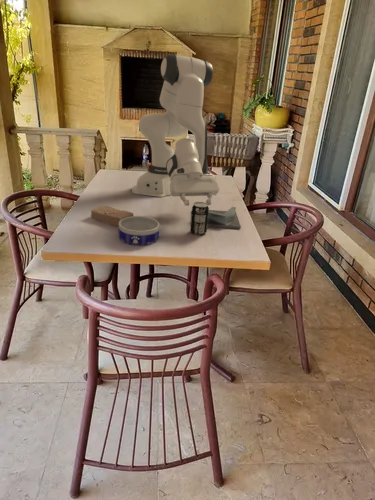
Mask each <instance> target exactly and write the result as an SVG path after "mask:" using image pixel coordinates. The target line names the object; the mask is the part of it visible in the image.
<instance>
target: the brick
mask: <svg viewBox="0 0 375 500" xmlns="http://www.w3.org/2000/svg"><path fill="white" fill-rule="evenodd" d="M90 212H91V214H90V217H91V218H90V219H91V220H93V221H97V222H101V223H104V224H107V225H110V226H113V227H117V228H119V221H120V220H122V219H124V218H126V217H132V216H134V213H133V212H131V211H127V210H122V209H121V210H120V209H118V208H115V207H112V206H109V205H100V206H98V207H95V208H93V209H91V210H90Z"/></svg>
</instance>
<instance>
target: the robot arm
mask: <svg viewBox="0 0 375 500" xmlns="http://www.w3.org/2000/svg"><path fill="white" fill-rule="evenodd" d="M160 76H161V77H162V79H163V85H162V88H161V92H160V95H159V104H160V106H161V107H162V108H163V109H165V112H163V113H158V112H157V113H155V112H153V113H152V112H151V113H147V114H143V115H141V117H140V118H139V122H138V128H139V129H138V130H139V131H140V133H141V134H142V136H143V137H145V138H146V139H147V141H148V143H149V145H150V149H151V162H148V163H147V164H146V166H147V171H146V172H144V173H143V174H141V175H140V176H139V177H138V178H137V180H136V184H135V185H133V186H132V187H131V192H132V193H133V195H134V194H135V195H142V196H151V197H157V198H158V197H159V198H163V197H166V196H172V197H180V200H181V201H182V202H183V203H184V207H185V206H187V207H188V206H189V205H190V200H189V199H187V198H186V197H199V196H200V197H202V196H203V197H204V196H205V197H207V198H208V199H207V200H206V201H205V203H207V204H208V206H210V205H212V198H213V196H217V195H218V193H219V192H220V186H219V183H218V181H217V177H216V176H215V175H214V174H213V173H209V172H208V171H209V168H208V166H209V165H208V126H207V122H206V121H205V120H204V118H203V117H204V116H203V105H204V98H205V97H204V95H205V94H204V93H205V88H207V87H208V86H209V85H210V84H211V82H212V80H213V77H214V68H213V64H212V63H210V62H209V61H207V60H205V59H199V58H195V57H194V56H185V55H177V54H172V53H171V54H170V53H169V54H166V55H165V56H164V57H163V59H162V61H161V65H160ZM188 131H189V132H191V133H192V135H193V136H194V139H195V140H193V139H191V138H186V137H185V138H180V139H178V140H177V141H176V142H175V147H174V148H175V150H174V148H173V147H172V146H171V145H169V144H167V142H166V138H177V137H181V136H184V135H186V134H187V133H188Z"/></svg>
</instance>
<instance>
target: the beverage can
mask: <svg viewBox="0 0 375 500" xmlns="http://www.w3.org/2000/svg"><path fill="white" fill-rule="evenodd" d="M209 210H210V209H209V205H208V204H207V203H206V202H203V201H195V202H193V205H192V207H191V219H190V229H189V230H190V232H191V234H193V235H196V236H202V235H205V234H206V233H207V232H208V227H207V223H208V213H209Z"/></svg>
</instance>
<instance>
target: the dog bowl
mask: <svg viewBox="0 0 375 500" xmlns="http://www.w3.org/2000/svg"><path fill="white" fill-rule="evenodd" d="M160 225H161V224H160V222H159V221H158V220H156V219H155V218H153V217H148V216H142V215H141V216H140V215H133V216H132V217H126V218H124V219H122V220H120V221H119V227H118V239H119V240H120V241H121V242H122V243H124V244H127V245H130V246H135V247H136V246H137V247H138V246H139V247H140V246H142V247H143V246H149V245H152V244H155V243H156V242H158V241H159V238H160Z"/></svg>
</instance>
